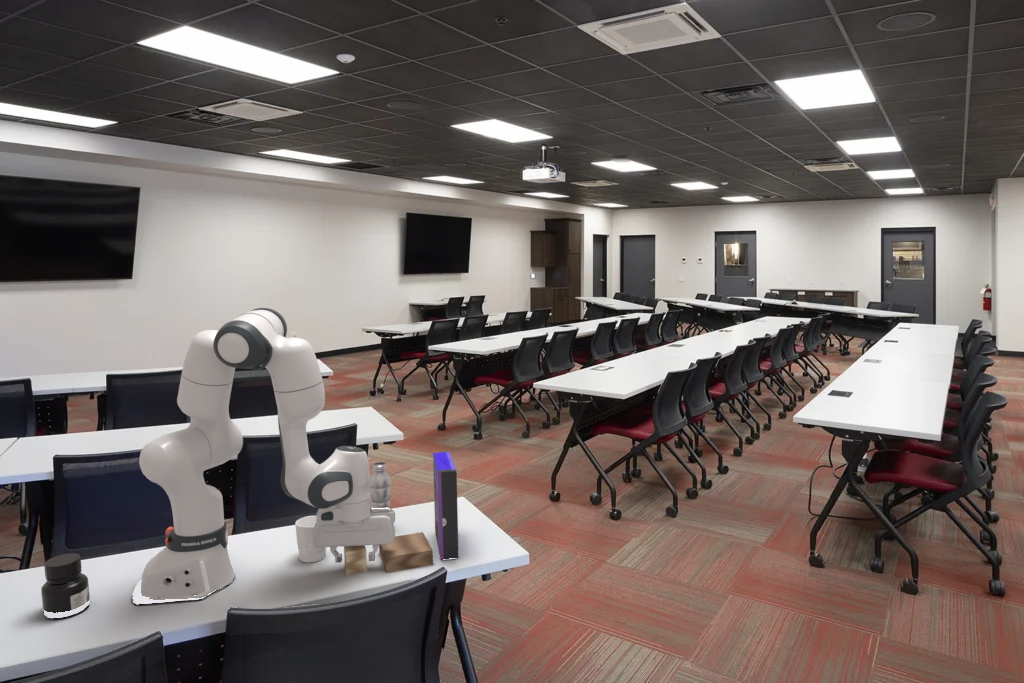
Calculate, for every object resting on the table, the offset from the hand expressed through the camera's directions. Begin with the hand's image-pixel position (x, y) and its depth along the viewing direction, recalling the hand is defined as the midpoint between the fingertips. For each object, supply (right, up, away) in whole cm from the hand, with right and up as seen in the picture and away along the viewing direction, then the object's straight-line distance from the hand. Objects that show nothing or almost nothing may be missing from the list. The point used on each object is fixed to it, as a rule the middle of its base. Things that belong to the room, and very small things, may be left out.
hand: (355, 560), depth 169 cm
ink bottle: (-61, -5, -18) cm, 64 cm away
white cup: (-13, -2, +7) cm, 15 cm away
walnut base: (+12, -1, +6) cm, 13 cm away
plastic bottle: (+2, +1, +24) cm, 24 cm away
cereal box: (+22, 0, +13) cm, 26 cm away
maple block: (0, -2, 0) cm, 2 cm away
